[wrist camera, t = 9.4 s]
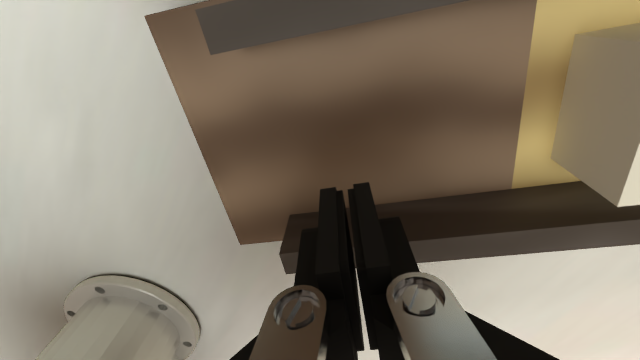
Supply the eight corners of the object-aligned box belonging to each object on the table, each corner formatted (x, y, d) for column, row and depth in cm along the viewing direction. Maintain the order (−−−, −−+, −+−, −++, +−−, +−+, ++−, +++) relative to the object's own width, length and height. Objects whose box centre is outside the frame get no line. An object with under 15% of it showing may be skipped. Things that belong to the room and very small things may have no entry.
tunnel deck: (824, 156, 17) (1030, 220, 12) (250, 222, 23) (222, 285, 18) (1067, -200, 11) (1764, -400, 5) (171, 15, 16) (88, 18, 11)
